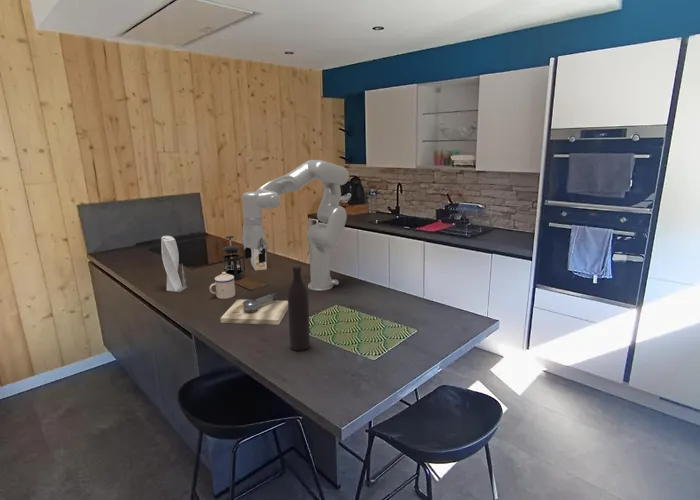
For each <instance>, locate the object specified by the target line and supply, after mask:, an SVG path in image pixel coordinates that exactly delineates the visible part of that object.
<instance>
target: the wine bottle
mask: <svg viewBox="0 0 700 500" xmlns="http://www.w3.org/2000/svg"><path fill="white" fill-rule="evenodd" d="M292 272H293V278H292V282H291V284H290V286H289V287H288V291H287V301H288V310H287V312H288V332H289V346H290V349H291V350H293V351H296V350H297V352H302V351H305V349H306V350H308V349H309V348H310V346H311V338H310V333H311V332H310V311H309V309H310V308H309V307H310V306H309V293H308V292H309V291H308V287H306V285H305V283H304V282H303V279H302V273H301V272H302V266H301V265H297V264H296V265H293V266H292Z"/></svg>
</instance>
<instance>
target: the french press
mask: <svg viewBox="0 0 700 500" xmlns="http://www.w3.org/2000/svg"><path fill="white" fill-rule="evenodd" d="M225 238H226V239H229V245H227V246H223V247H222V248H221V250H222V251H223V252H225V253H226V255H224V256H222V263H223V264H222V265H223V272H226V274H229V275H233V276H234V282H236V280H237V281H240V280H242V279H243V274H242V273H243V272H245V271H246V269H245V266H246V265H245V255H243V254H241V255H240V254H238V253H239V252H240V248H241V247H240V246H239V245H232V241H231V240H232V239H233V238H235V236H233V235H228V236H226V237H225ZM241 259H242V261H241ZM237 261H238V262H239V263H238V262H237ZM225 262H227V265H226V264H225ZM241 262H242V264H241ZM239 279H240V280H239Z"/></svg>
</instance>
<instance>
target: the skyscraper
mask: <svg viewBox="0 0 700 500" xmlns="http://www.w3.org/2000/svg"><path fill="white" fill-rule="evenodd" d="M160 238H161V240H160V241H161V247H160V248H161V258H162V263H163V268H164V269H165V272H166V292H170V293H181V292H183V291H184V290H185V289H188V285H187V278H186V272H185V270H184V266H183V263H181V277H182V281H181V279H180V276H179V273H178V271H179V261H180V260H179V259H180V258H179V257H180V256H179V254H180V253H179V249H178V245H177V241H176V239H175V238H174V237H173V236H171V235H162V237H160Z"/></svg>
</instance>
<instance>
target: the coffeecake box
mask: <svg viewBox="0 0 700 500" xmlns="http://www.w3.org/2000/svg"><path fill="white" fill-rule="evenodd" d="M264 238H265V239H266V235H264ZM250 249H251V248H250ZM261 250H262V249H261ZM251 253H252V257H251V258H250V265H251V266H252V268H253V270H254V271H257V272H258V271H264V270H267V269H268V268H267V267H268V266H267V260H266V261H265V262H263V263H259V254H260V253H259V251H258V250H257V249H251ZM265 257H266V258H267V252H266V253H265Z"/></svg>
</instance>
